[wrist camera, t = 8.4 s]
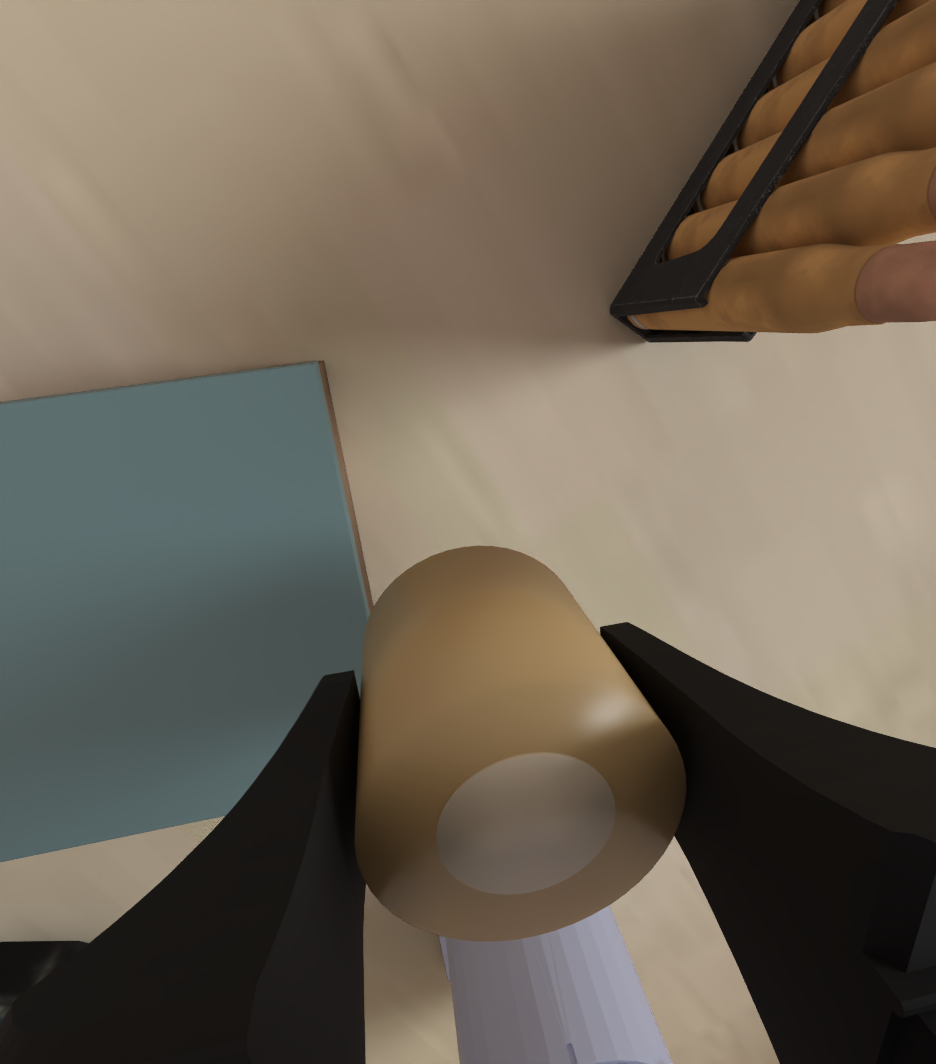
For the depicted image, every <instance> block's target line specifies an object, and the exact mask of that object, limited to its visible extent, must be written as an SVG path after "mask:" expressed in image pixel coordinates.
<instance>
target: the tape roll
mask: <svg viewBox="0 0 936 1064" xmlns="http://www.w3.org/2000/svg"><path fill="white" fill-rule="evenodd" d="M685 797H686V773H685V768H684V763H683V759H682V756H681V754H680V751H679V749H678V746H677V744H676V742H675V741H674V739H673V738H672V736H671V734H670V733H669V731H668V730H667V728H666V727H665V725H664V724H663V723H662V721H661V720H660V718H659V717H658V716H657V714H656V713H655V711H654V710H653V709H652V707H651V706H650V704H649V703H648V702H647V700H646V699H645V697H644V696H643V694H642V693H641V692H640V690H639V689H638V687H637V686H636V685H635V683H634V682H633V680H632V679H631V678H630V676H629V675H628V673H627V672H626V670H625V669H624V668H623V666H622V665H621V663H620V662H619V661H618V659H617V658H616V656H615V655H614V654H613V652H612V651H611V649H610V648H609V646H608V645H607V644H606V642H605V641H604V639H603V638H602V637H601V635H600V634H599V632H598V631H597V630H596V628H595V627H594V625H593V624H592V622H591V621H590V620H589V618H588V617H587V615H586V614H585V613H584V611H583V610H582V608H581V607H580V606H579V604H578V603H577V601H576V600H575V599H574V597H573V596H572V594H571V593H570V591H569V590H568V589H567V587H566V586H565V584H564V583H563V582H562V581H561V580H560V579H559V577H558V576H557V575H556V574H555V573H554V572H553V571H551V570H550V569H549V568H548V567H547V566H546V565H544V564H542V563H541V562H539V561H538V560H536V559H534V558H532V557H530V556H528V555H526V554H523V553H521V552H518V551H514V550H511V549H507V548H501V547H495V546H470V547H461V548H457V549H452V550H447V551H444V552H442V553H439V554H436V555H433V556H431V557H429V558H427V559H425V560H423V561H421V562H419V563H417V564H415V565H414V566H412V567H411V568H409V569H408V570H406V571H405V572H404V573H402V574H401V575H400V576H399V577H398V578H397V579H395V580H394V581H393V582H392V583H391V584H390V586H389V587H388V588H387V589H386V590H385V591H384V592H383V594H382V595H381V597H380V598H379V599H378V601H377V602H376V604H375V606H374V608H373V610H372V612H371V614H370V616H369V618H368V621H367V624H366V627H365V631H364V636H363V642H362V666H361V691H360V715H359V740H358V765H357V790H356V815H355V851H356V857H357V862H358V865H359V868H360V871H361V874H362V876H363V878H364V880H365V882H366V883H367V885H368V887H369V889H370V890H371V892H372V893H373V894H374V895H375V897H376V898H377V899H378V900H379V901H380V903H381V904H382V905H384V906H385V907H386V908H387V909H388V910H389V911H391V912H392V913H393V914H394V915H396V916H397V917H399V918H400V919H402V920H403V921H405V922H407V923H408V924H410V925H413V926H415V927H417V928H419V929H421V930H423V931H426V932H429V933H433V934H436V935H439V936H442V937H447V938H453V939H458V940H466V941H478V942H490V941H507V940H517V939H523V938H528V937H533V936H538V935H541V934H545V933H549V932H552V931H556V930H558V929H561V928H564V927H566V926H569V925H572V924H574V923H577V922H579V921H581V920H583V919H585V918H587V917H589V916H591V915H593V914H595V913H597V912H598V911H600V910H602V909H604V908H605V907H607V906H609V905H610V904H612V903H613V902H614V901H616V900H617V899H619V898H620V897H622V896H623V895H624V894H626V893H627V892H628V891H629V890H630V889H631V888H633V887H634V886H635V885H636V884H637V883H638V882H640V881H641V879H642V878H643V877H644V876H645V875H646V874H647V873H648V872H649V871H650V870H651V869H652V868H653V867H654V865H655V864H656V863H657V861H658V860H659V859H660V858H661V856H662V855H663V854H664V852H665V850H666V849H667V847H668V845H669V844H670V842H671V840H672V839H673V837H674V834H675V832H676V830H677V828H678V825H679V823H680V820H681V816H682V813H683V809H684V804H685Z"/></svg>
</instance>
